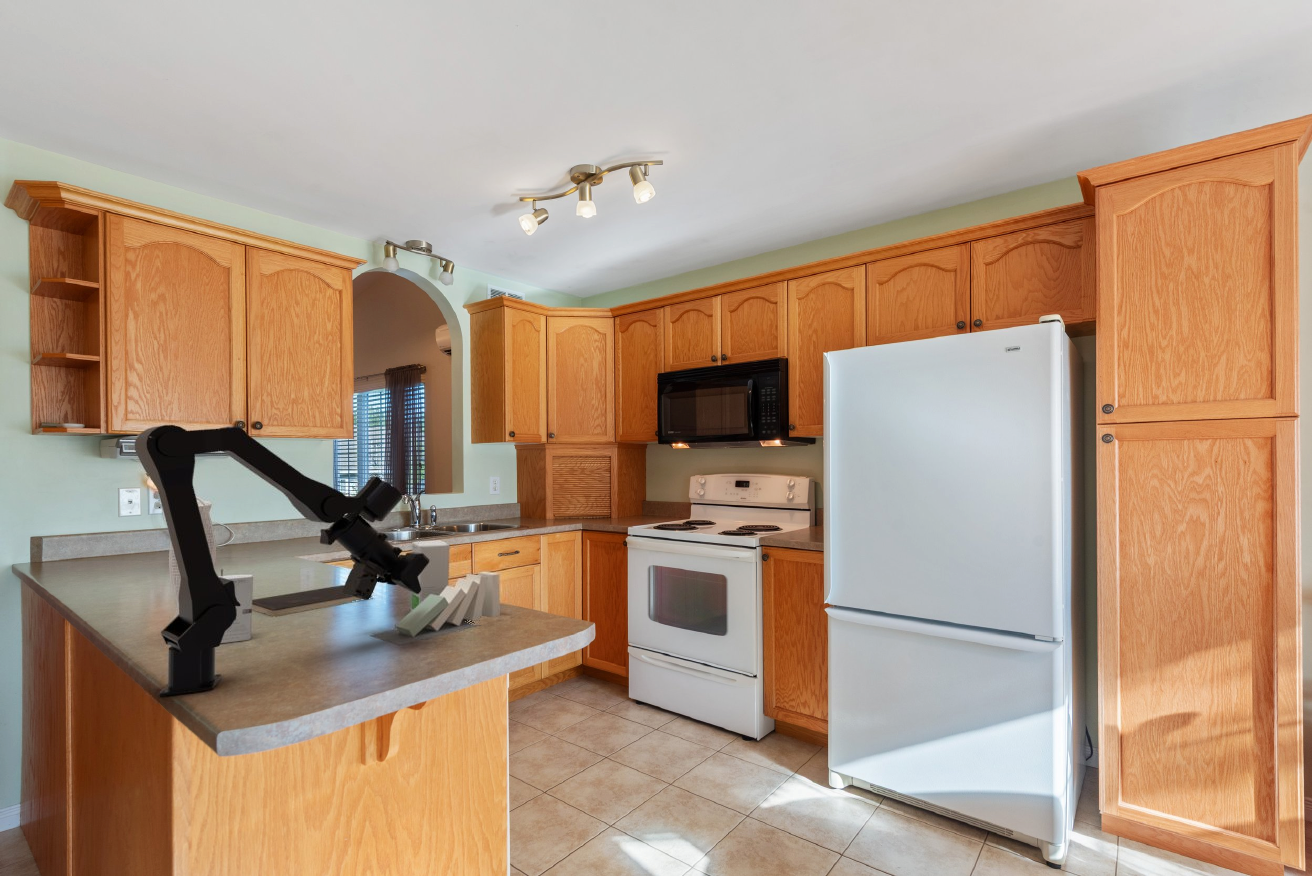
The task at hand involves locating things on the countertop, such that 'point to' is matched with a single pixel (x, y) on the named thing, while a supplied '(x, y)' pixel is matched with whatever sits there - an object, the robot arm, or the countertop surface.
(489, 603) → the domino
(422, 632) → the mat
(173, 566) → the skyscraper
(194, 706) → the countertop surface
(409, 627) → the domino
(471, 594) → the domino
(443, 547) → the skincare box
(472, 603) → the domino
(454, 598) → the domino
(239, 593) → the skincare box
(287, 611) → the hardcover book
